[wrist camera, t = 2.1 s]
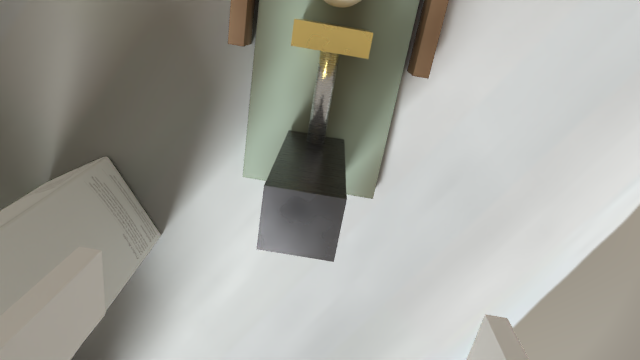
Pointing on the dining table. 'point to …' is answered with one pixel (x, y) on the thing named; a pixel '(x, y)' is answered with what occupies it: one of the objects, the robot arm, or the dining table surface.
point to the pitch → (350, 82)
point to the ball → (342, 3)
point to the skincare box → (74, 230)
